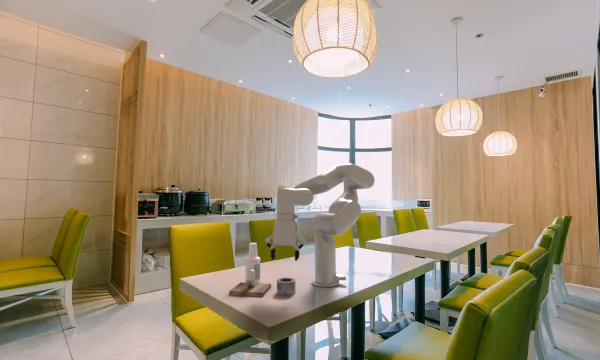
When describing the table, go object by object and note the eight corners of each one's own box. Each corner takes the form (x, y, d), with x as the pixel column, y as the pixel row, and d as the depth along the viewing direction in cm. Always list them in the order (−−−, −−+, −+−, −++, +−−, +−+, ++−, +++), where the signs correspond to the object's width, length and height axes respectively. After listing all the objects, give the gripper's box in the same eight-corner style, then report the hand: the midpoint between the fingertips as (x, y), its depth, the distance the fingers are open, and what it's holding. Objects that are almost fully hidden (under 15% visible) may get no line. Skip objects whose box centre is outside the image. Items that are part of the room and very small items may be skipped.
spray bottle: (261, 284, 126) (261, 243, 127) (246, 285, 124) (246, 244, 125) (259, 280, 132) (259, 241, 134) (244, 281, 130) (244, 242, 132)
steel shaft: (255, 286, 118) (255, 269, 119) (253, 288, 115) (253, 271, 116) (248, 285, 119) (249, 269, 119) (246, 288, 116) (246, 270, 116)
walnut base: (271, 287, 122) (271, 283, 122) (263, 296, 110) (263, 292, 110) (240, 285, 124) (240, 282, 124) (229, 294, 112) (229, 290, 112)
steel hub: (296, 290, 117) (296, 277, 118) (293, 295, 110) (293, 282, 111) (279, 289, 119) (279, 277, 119) (275, 295, 111) (275, 282, 112)
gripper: (307, 217, 119) (306, 258, 117) (268, 217, 122) (267, 257, 120) (304, 218, 111) (304, 262, 110) (263, 217, 114) (261, 260, 113)
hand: (284, 259), depth 115 cm, fingers open, 9 cm apart
